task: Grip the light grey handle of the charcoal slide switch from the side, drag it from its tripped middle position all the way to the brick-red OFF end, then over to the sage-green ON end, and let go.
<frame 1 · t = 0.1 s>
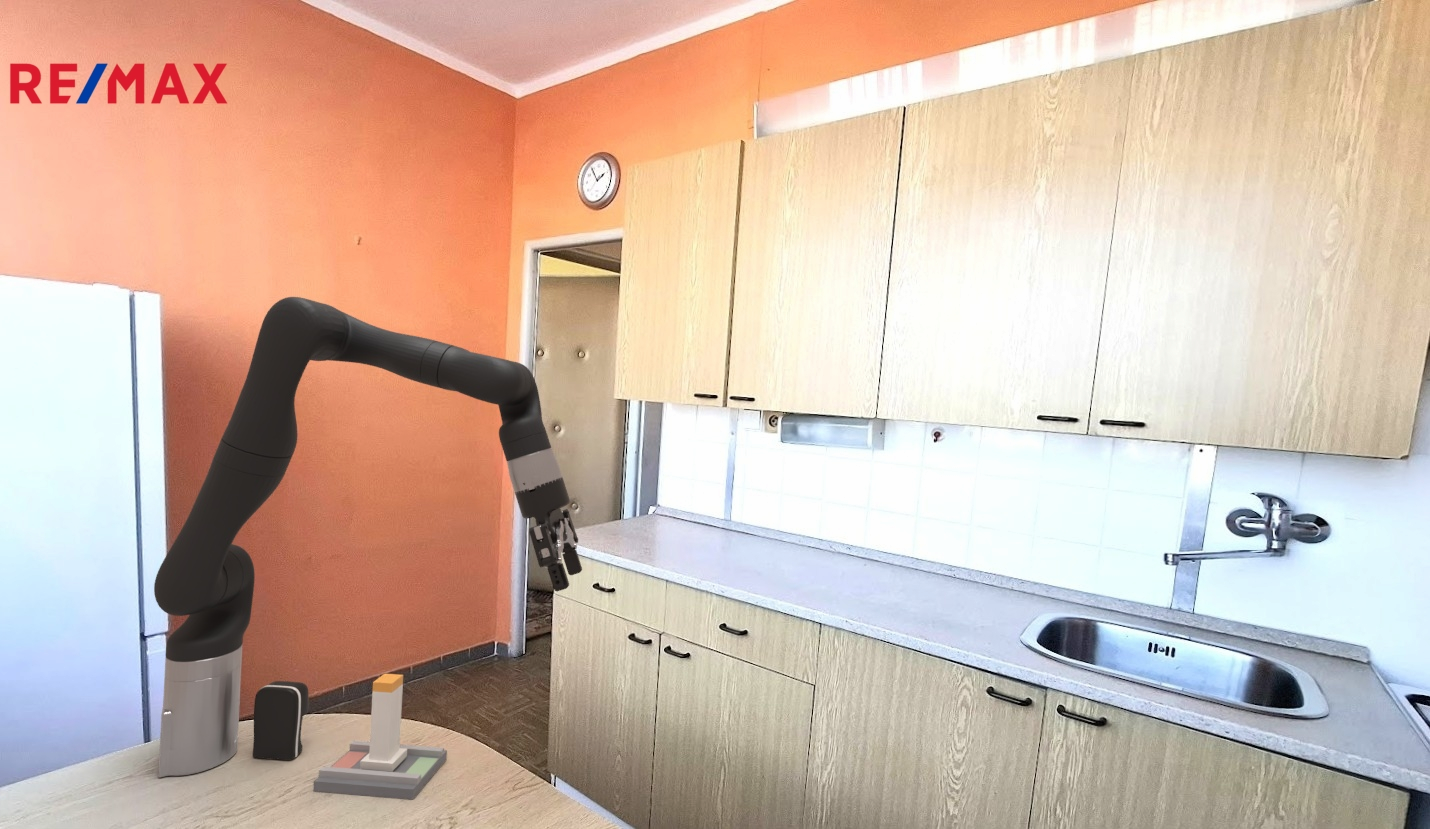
hand: (569, 581, 93), 31 cm above the table, tool tilted 20°, fingers open, 8 cm apart
battery charger: (280, 754, 96), on the table
switch panel: (383, 774, 92), on the table
switch handle: (386, 720, 92), point 8 cm above the table, slide at 0.0 cm
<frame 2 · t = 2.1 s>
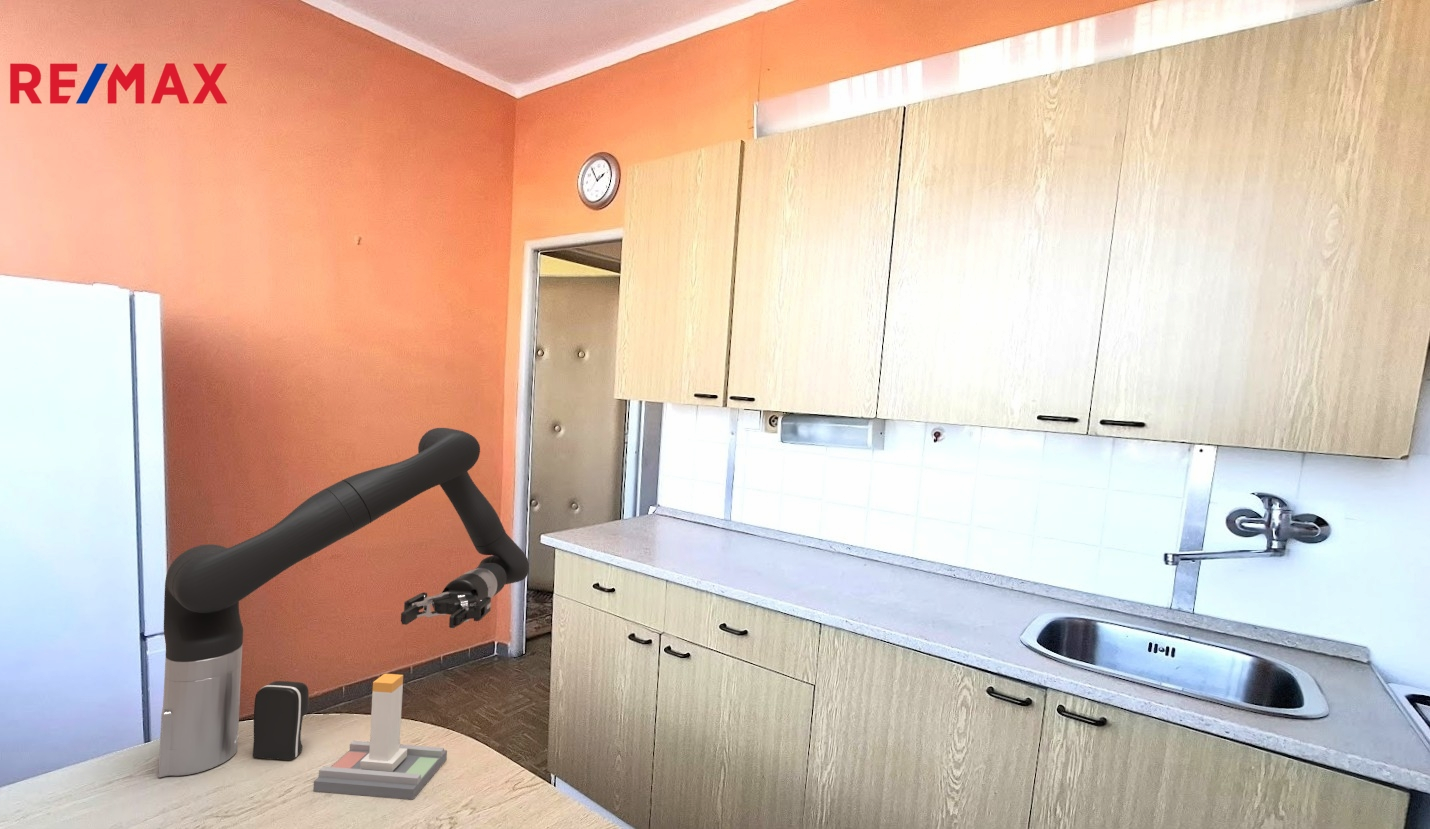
hand: (427, 620, 103), 20 cm above the table, tool horizontal, fingers open, 8 cm apart
nothing on the table moved.
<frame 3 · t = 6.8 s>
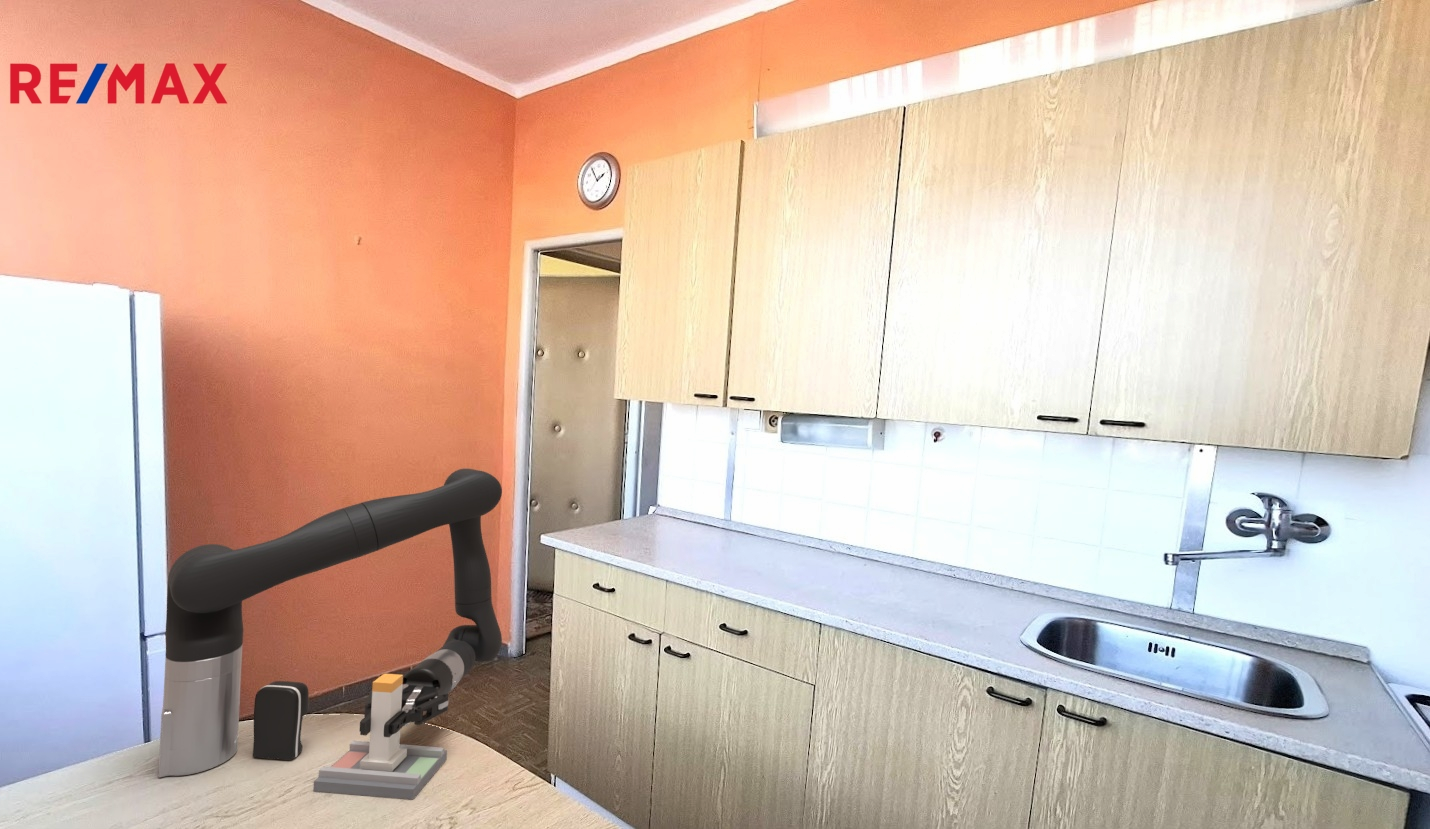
hand: (374, 730, 89), 8 cm above the table, tool horizontal, fingers closed on switch handle, 3 cm apart
switch handle: (385, 720, 92), point 8 cm above the table, slide at 0.0 cm, touching gripper
everything else where it was.
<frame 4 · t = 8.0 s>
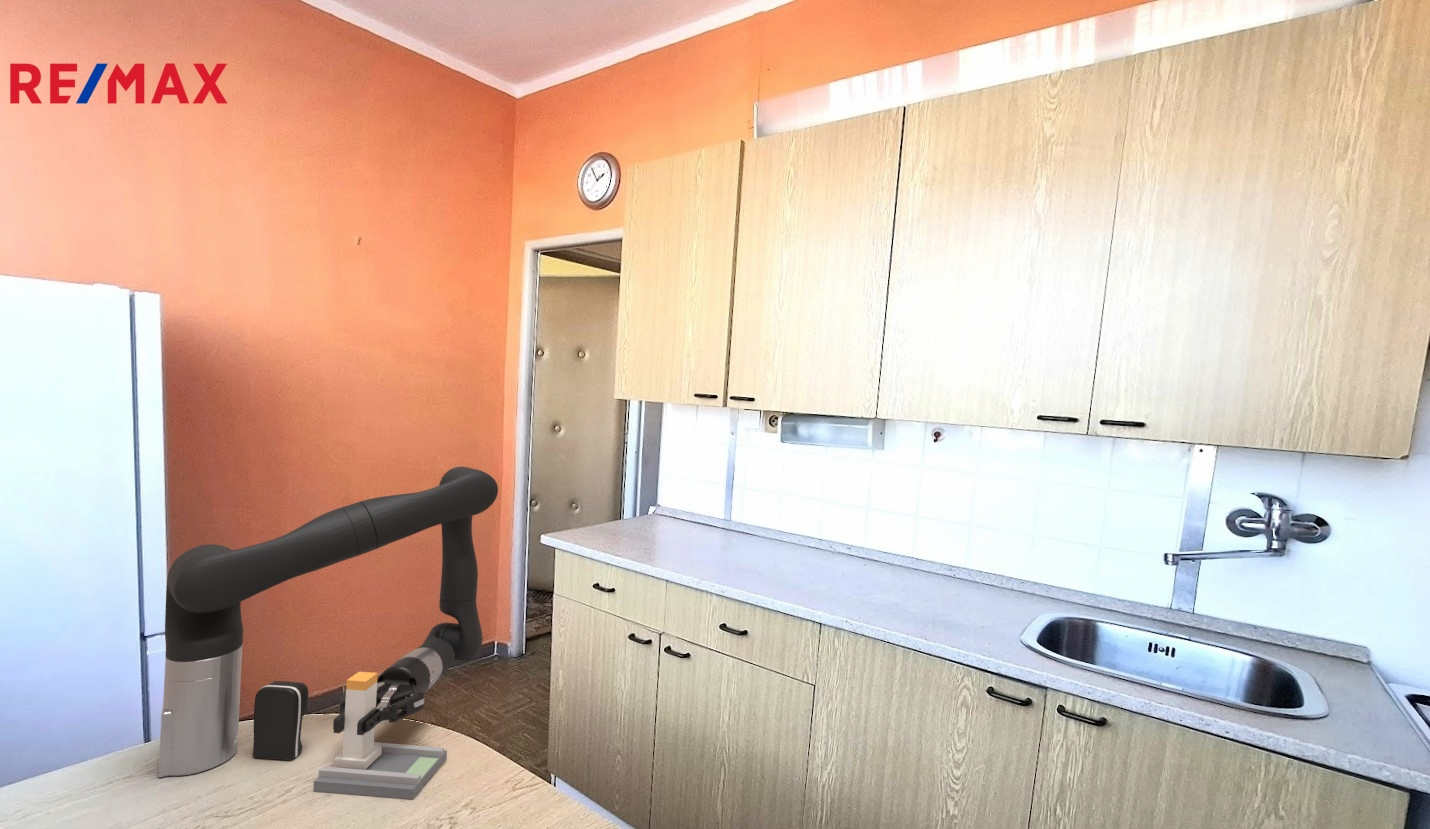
hand: (348, 727, 89), 9 cm above the table, tool horizontal, fingers closed on switch handle, 3 cm apart
switch handle: (360, 718, 92), point 8 cm above the table, slide at -4.1 cm, touching gripper
everything else where it was.
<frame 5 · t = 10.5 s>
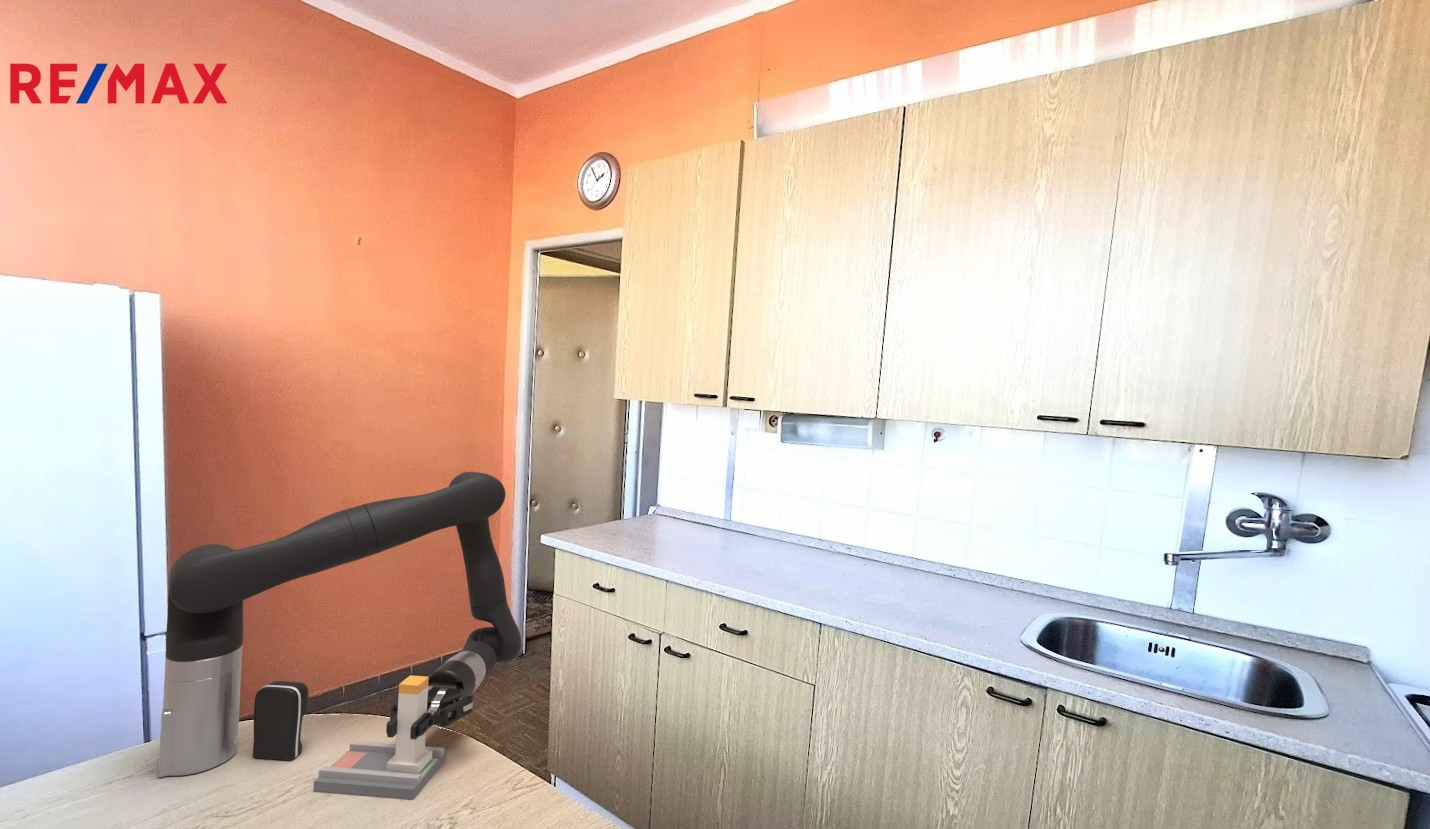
hand: (401, 732, 89), 9 cm above the table, tool horizontal, fingers closed on switch handle, 3 cm apart
switch handle: (411, 722, 92), point 8 cm above the table, slide at 4.1 cm, touching gripper
everything else where it was.
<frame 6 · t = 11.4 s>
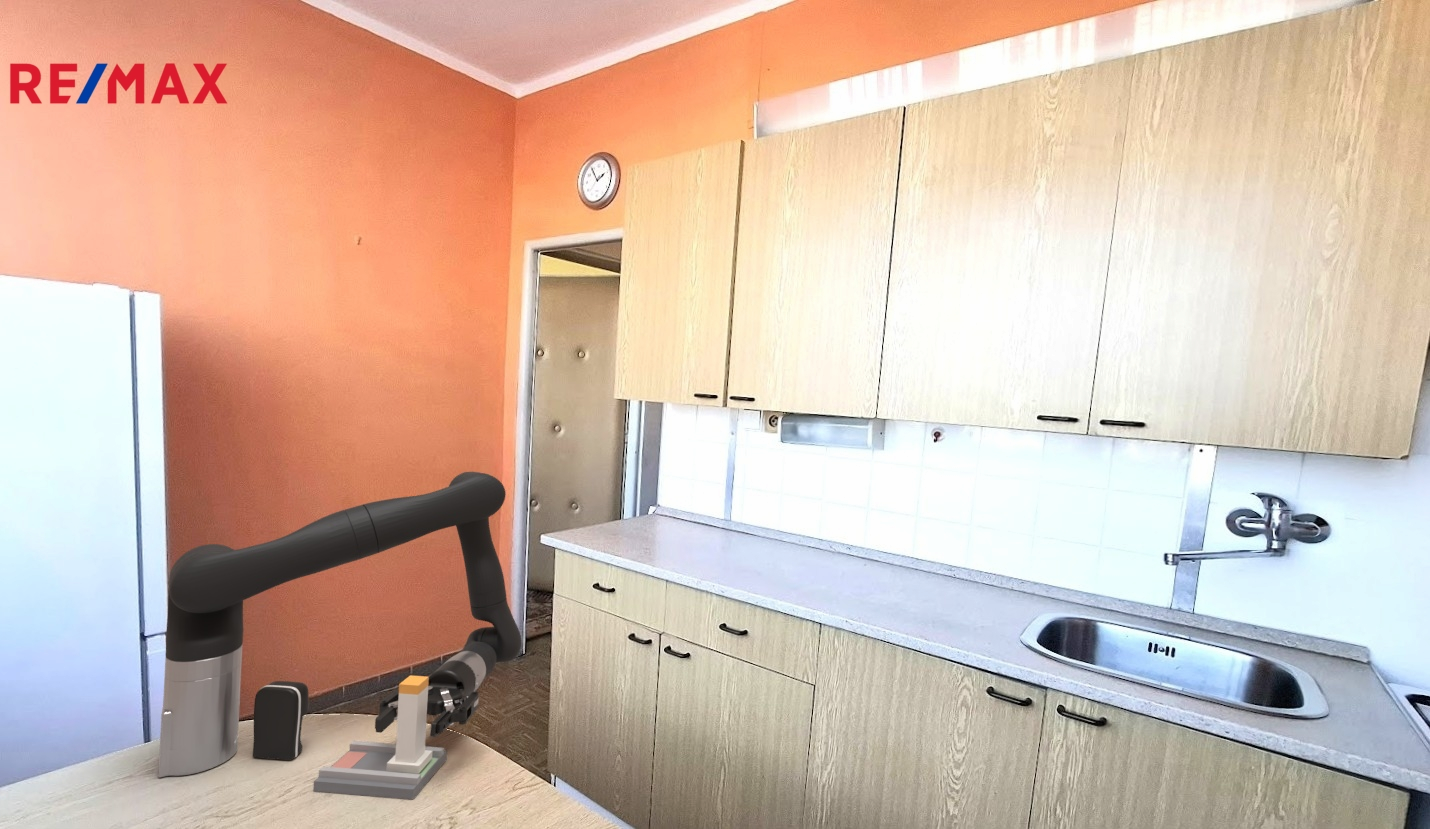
hand: (405, 728, 90), 8 cm above the table, tool horizontal, fingers open, 8 cm apart
switch handle: (411, 722, 92), point 8 cm above the table, slide at 4.1 cm
everything else where it was.
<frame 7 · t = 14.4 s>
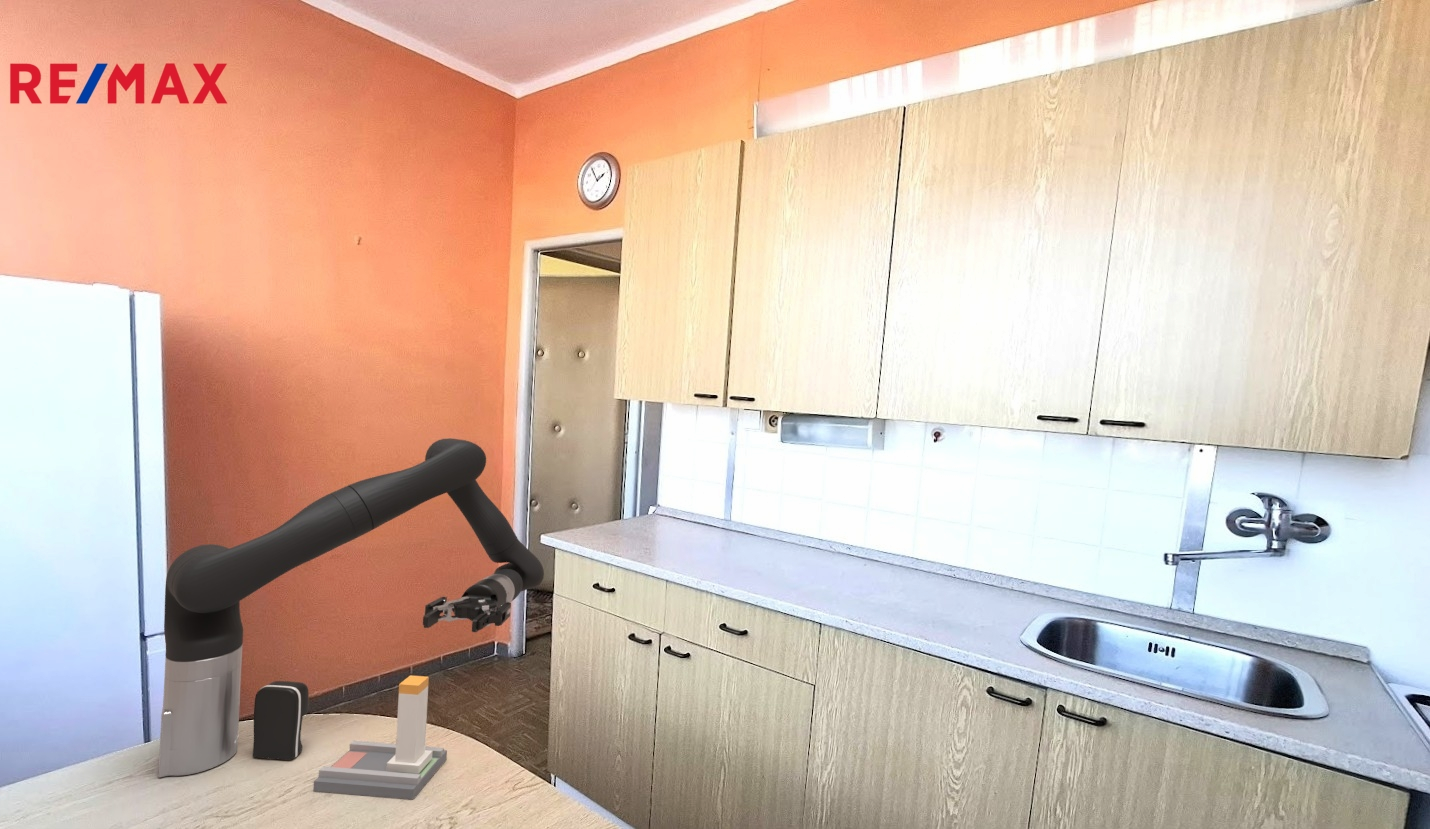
hand: (450, 624, 103), 20 cm above the table, tool horizontal, fingers open, 8 cm apart
nothing on the table moved.
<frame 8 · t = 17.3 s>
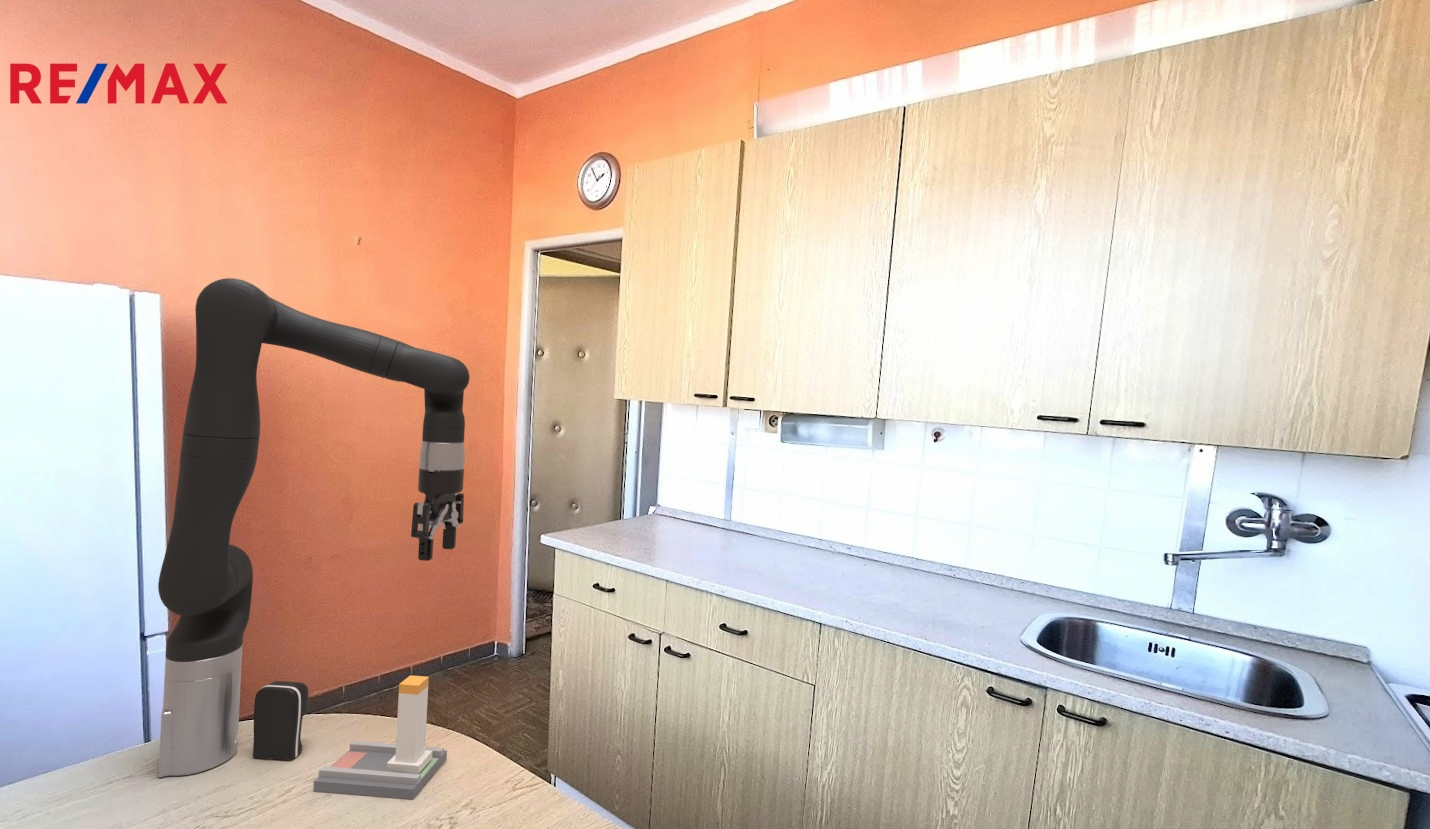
hand: (437, 554, 109), 30 cm above the table, tool pointing down, fingers open, 8 cm apart
nothing on the table moved.
at the end: switch handle slide at 4.1 cm; the gripper is holding nothing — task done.
